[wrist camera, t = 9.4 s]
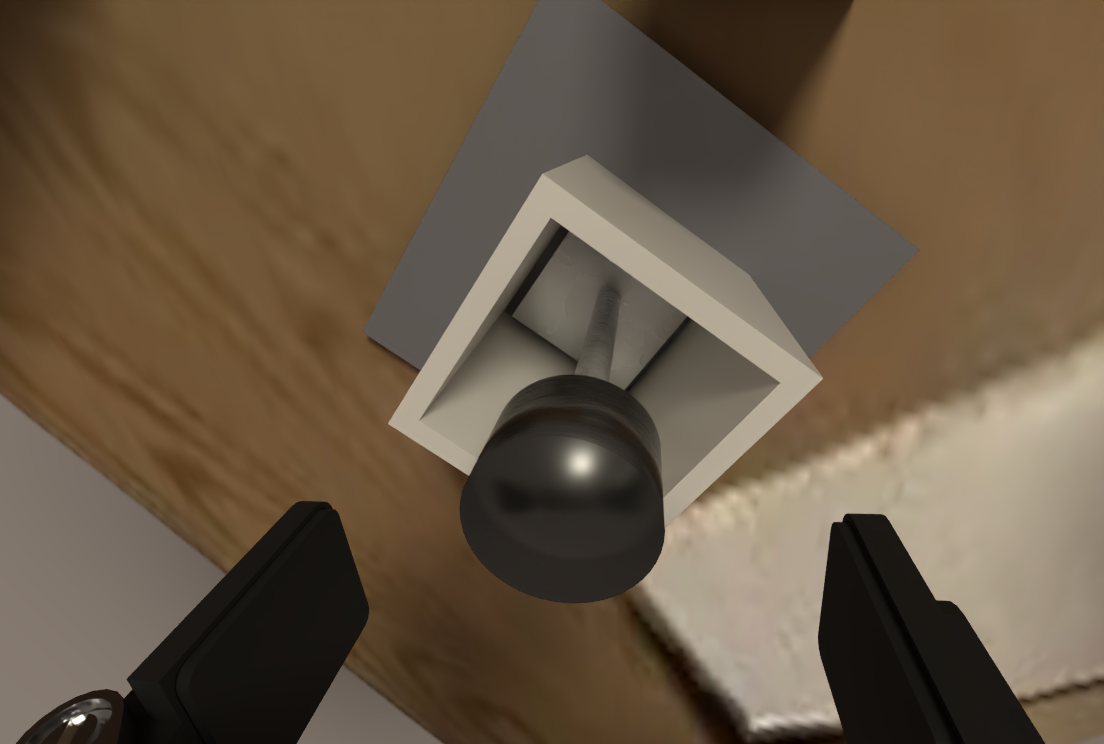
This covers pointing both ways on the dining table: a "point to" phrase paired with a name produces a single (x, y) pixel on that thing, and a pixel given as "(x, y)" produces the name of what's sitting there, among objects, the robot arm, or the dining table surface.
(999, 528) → the dining table surface
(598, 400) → the plunger
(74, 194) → the dining table surface
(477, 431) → the grey square base
